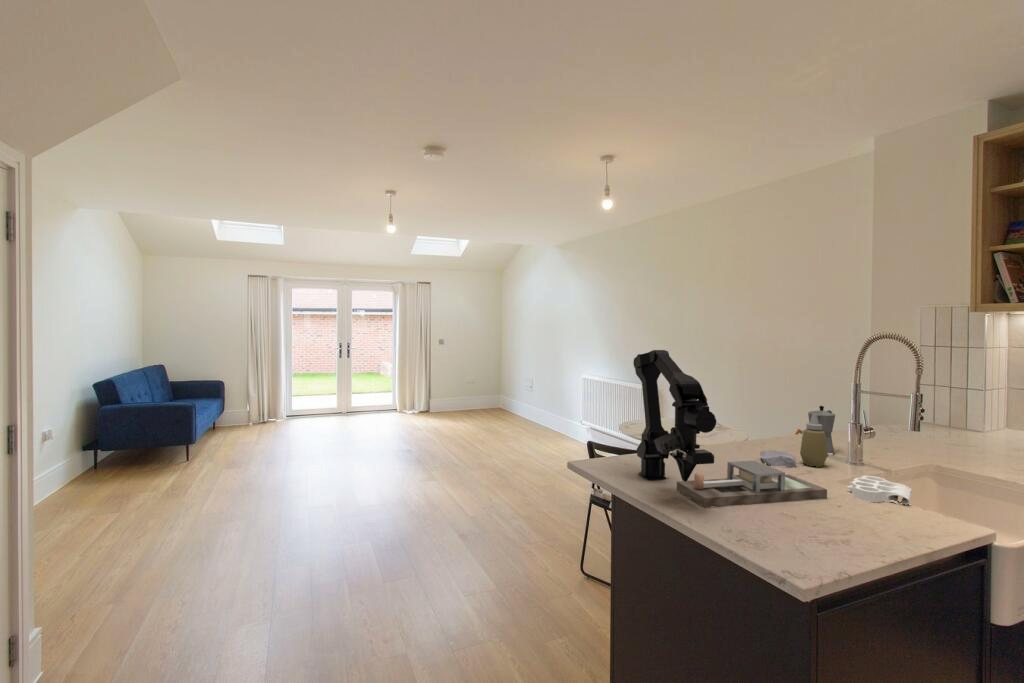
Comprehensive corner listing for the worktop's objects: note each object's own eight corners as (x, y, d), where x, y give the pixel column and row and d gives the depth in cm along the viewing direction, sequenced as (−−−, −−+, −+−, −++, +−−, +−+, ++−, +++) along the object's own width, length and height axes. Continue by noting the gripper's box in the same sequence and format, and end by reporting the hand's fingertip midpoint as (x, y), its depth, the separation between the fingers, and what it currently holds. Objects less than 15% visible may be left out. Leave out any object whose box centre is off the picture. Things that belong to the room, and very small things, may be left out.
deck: (704, 507, 128) (705, 498, 127) (676, 489, 141) (676, 481, 141) (826, 498, 135) (827, 489, 135) (788, 482, 149) (789, 474, 149)
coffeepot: (826, 457, 178) (827, 409, 177) (799, 452, 186) (800, 405, 185) (843, 451, 187) (845, 405, 186) (817, 446, 195) (818, 402, 194)
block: (752, 489, 135) (753, 474, 135) (738, 482, 141) (739, 468, 141) (771, 487, 136) (771, 473, 136) (756, 481, 142) (757, 467, 142)
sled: (703, 493, 130) (704, 479, 130) (686, 483, 139) (687, 470, 139) (778, 487, 135) (778, 474, 135) (757, 478, 143) (757, 466, 143)
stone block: (768, 472, 166) (799, 468, 164) (765, 458, 166) (796, 454, 164) (757, 463, 178) (786, 460, 176) (755, 451, 178) (784, 447, 176)
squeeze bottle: (826, 464, 169) (828, 413, 169) (827, 469, 162) (828, 416, 162) (800, 460, 174) (801, 411, 173) (799, 466, 167) (800, 414, 166)
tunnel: (756, 493, 131) (756, 474, 131) (727, 479, 144) (727, 461, 143) (784, 491, 133) (785, 472, 133) (753, 477, 145) (754, 460, 145)
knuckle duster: (907, 511, 127) (841, 497, 137) (912, 494, 140) (851, 483, 150) (908, 498, 127) (841, 486, 137) (912, 482, 140) (851, 472, 150)
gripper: (643, 419, 141) (642, 472, 141) (676, 433, 123) (675, 494, 123) (677, 418, 143) (676, 470, 144) (716, 431, 125) (715, 491, 125)
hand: (684, 480), depth 134 cm, fingers closed
